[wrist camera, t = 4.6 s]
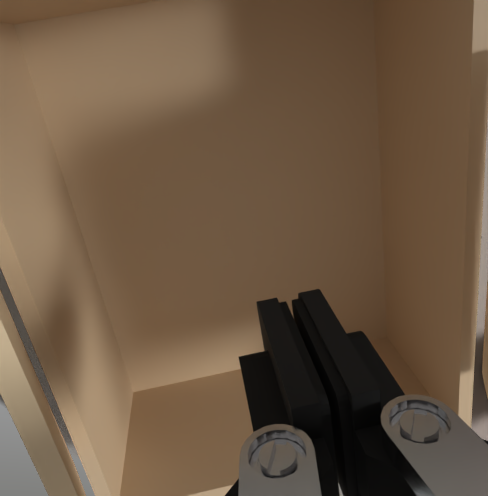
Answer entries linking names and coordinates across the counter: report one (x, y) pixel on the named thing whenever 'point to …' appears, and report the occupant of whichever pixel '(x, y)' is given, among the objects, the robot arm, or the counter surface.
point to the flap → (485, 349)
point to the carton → (234, 206)
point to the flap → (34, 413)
